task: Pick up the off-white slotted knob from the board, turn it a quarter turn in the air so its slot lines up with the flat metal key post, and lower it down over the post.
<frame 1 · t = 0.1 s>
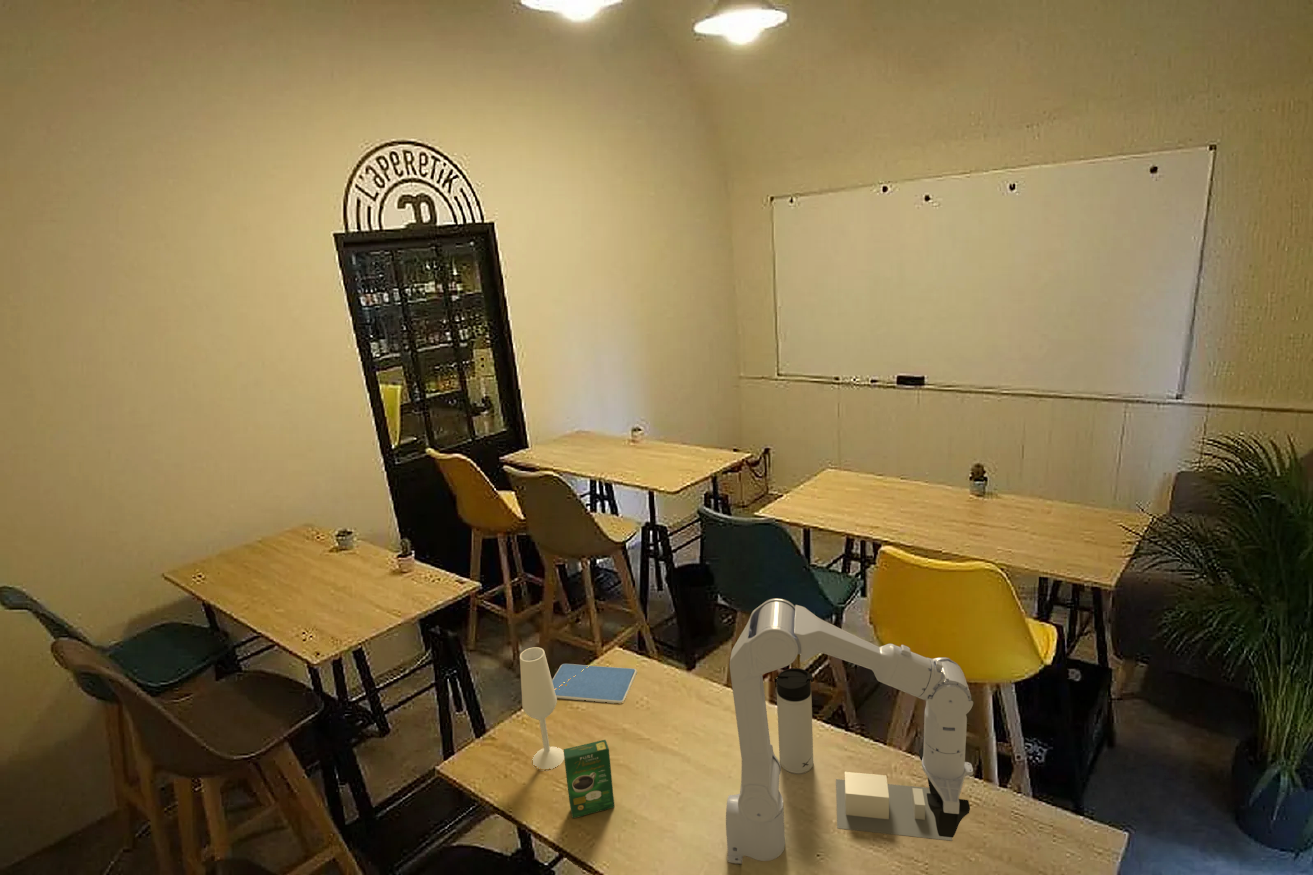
hand: (941, 814, 107), 10 cm above the table, tool pointing down, fingers open, 7 cm apart
knob: (866, 805, 121), point 1 cm above the table, touching board
champagne flute: (548, 759, 140), on the table
travel mug: (797, 767, 132), on the table
board: (890, 812, 120), on the table
coffee box: (593, 809, 127), on the table
tablet computer: (591, 686, 163), on the table
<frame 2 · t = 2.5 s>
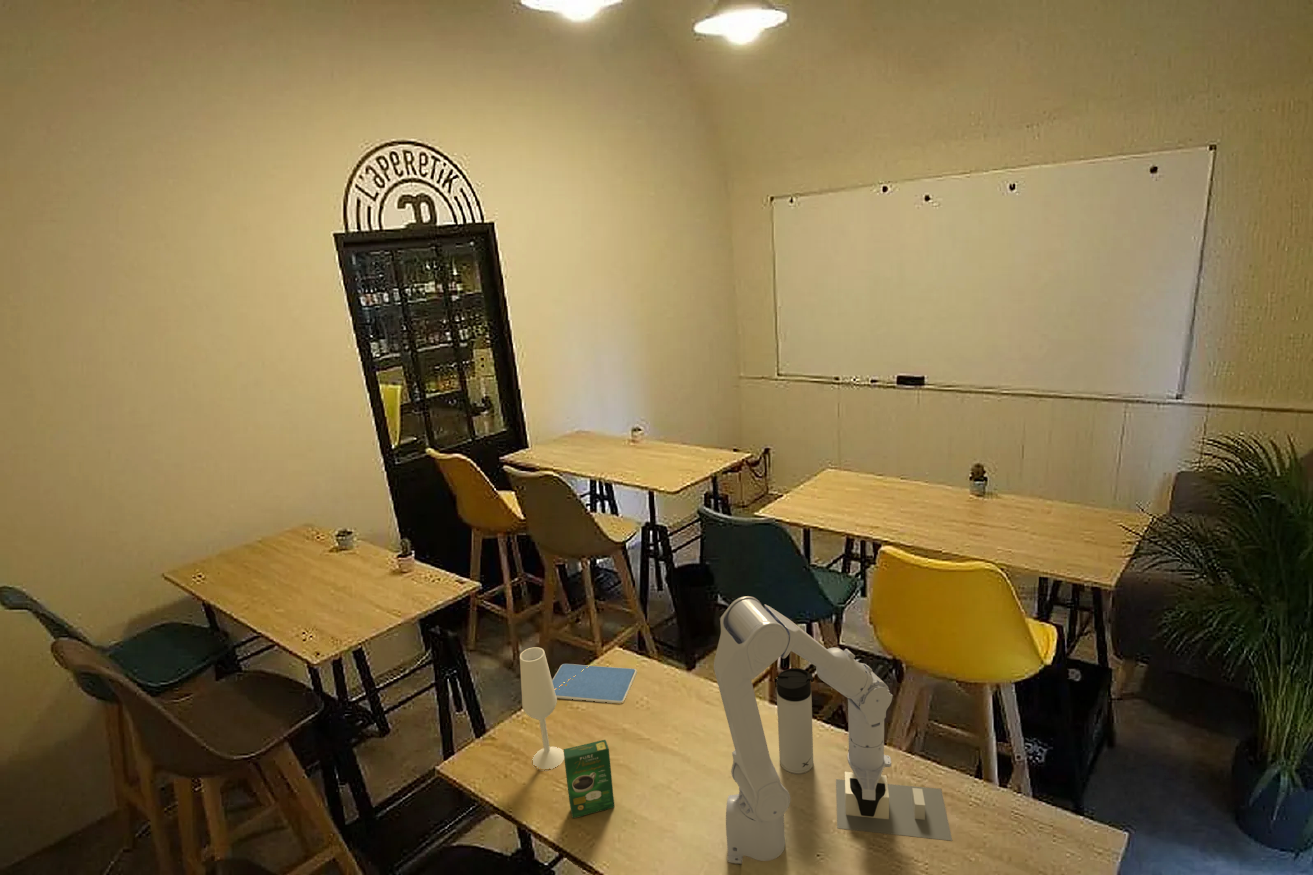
hand: (866, 801, 121), 2 cm above the table, tool pointing down, fingers closed on knob, 5 cm apart
knob: (866, 805, 121), point 1 cm above the table, touching board, gripper
everything else where it was.
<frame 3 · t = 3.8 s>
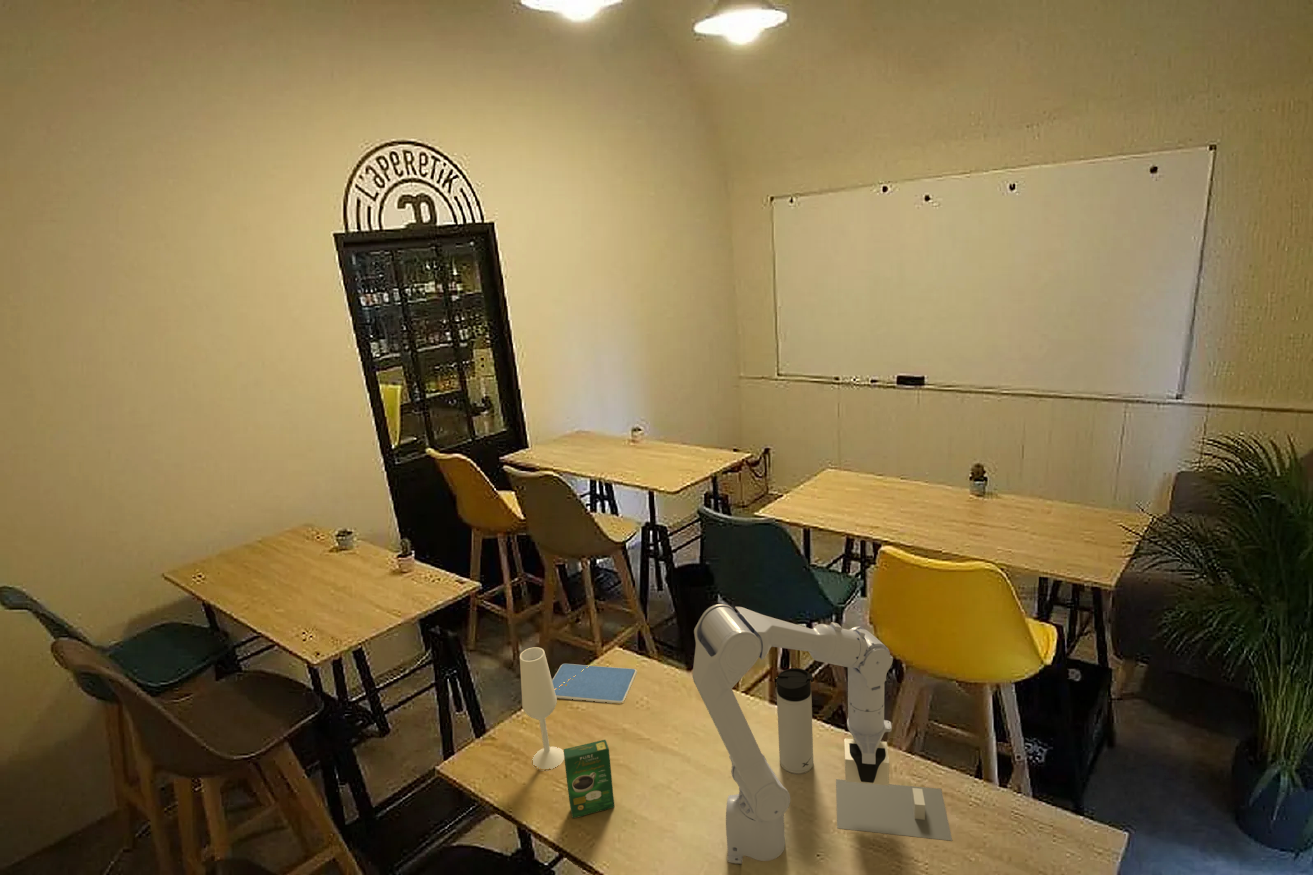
hand: (866, 768, 119), 9 cm above the table, tool pointing down, fingers closed on knob, 5 cm apart
knob: (866, 772, 119), point 8 cm above the table, touching gripper
everything else where it was.
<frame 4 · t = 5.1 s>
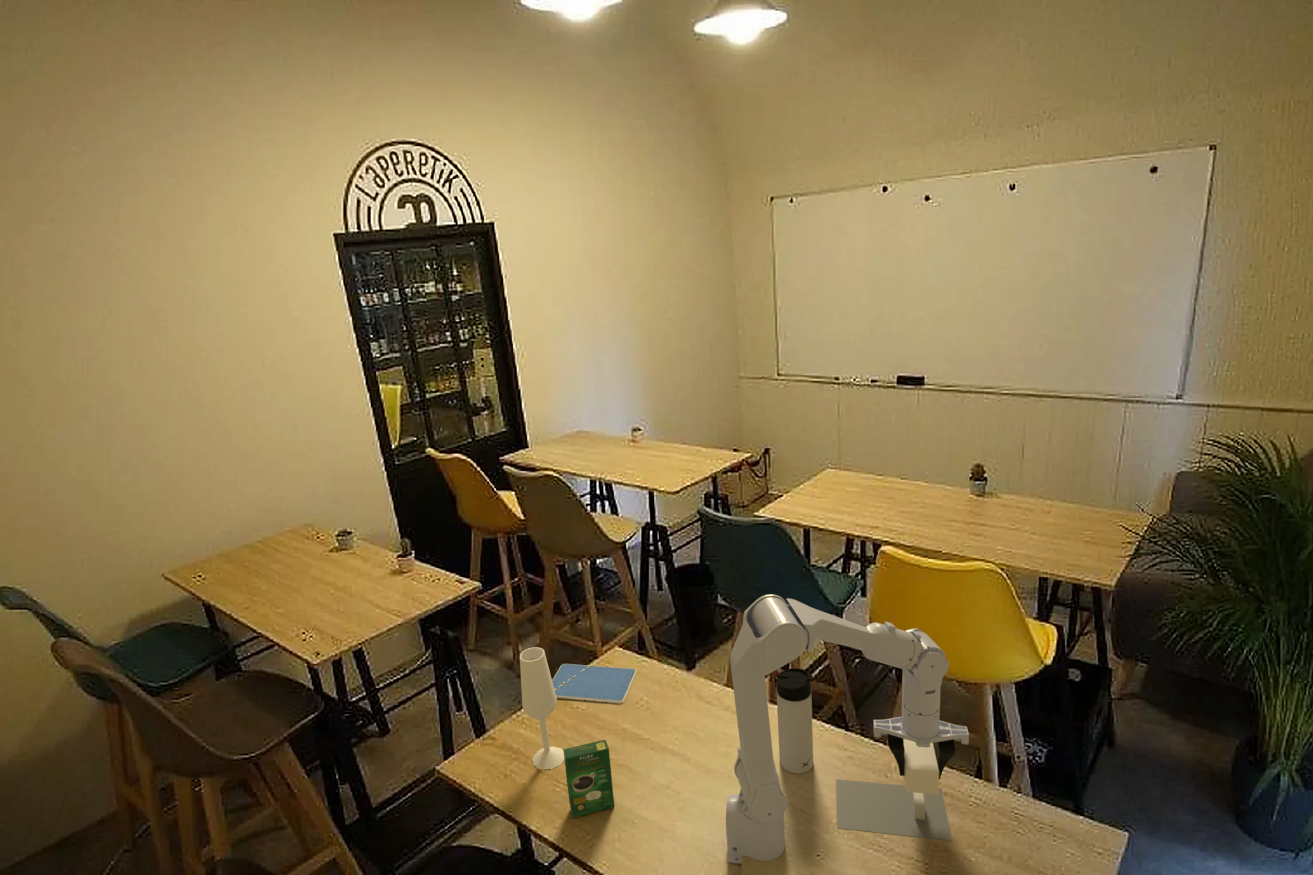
hand: (919, 773, 117), 9 cm above the table, tool pointing down, fingers closed on knob, 5 cm apart
knob: (919, 777, 117), point 8 cm above the table, touching gripper
everything else where it was.
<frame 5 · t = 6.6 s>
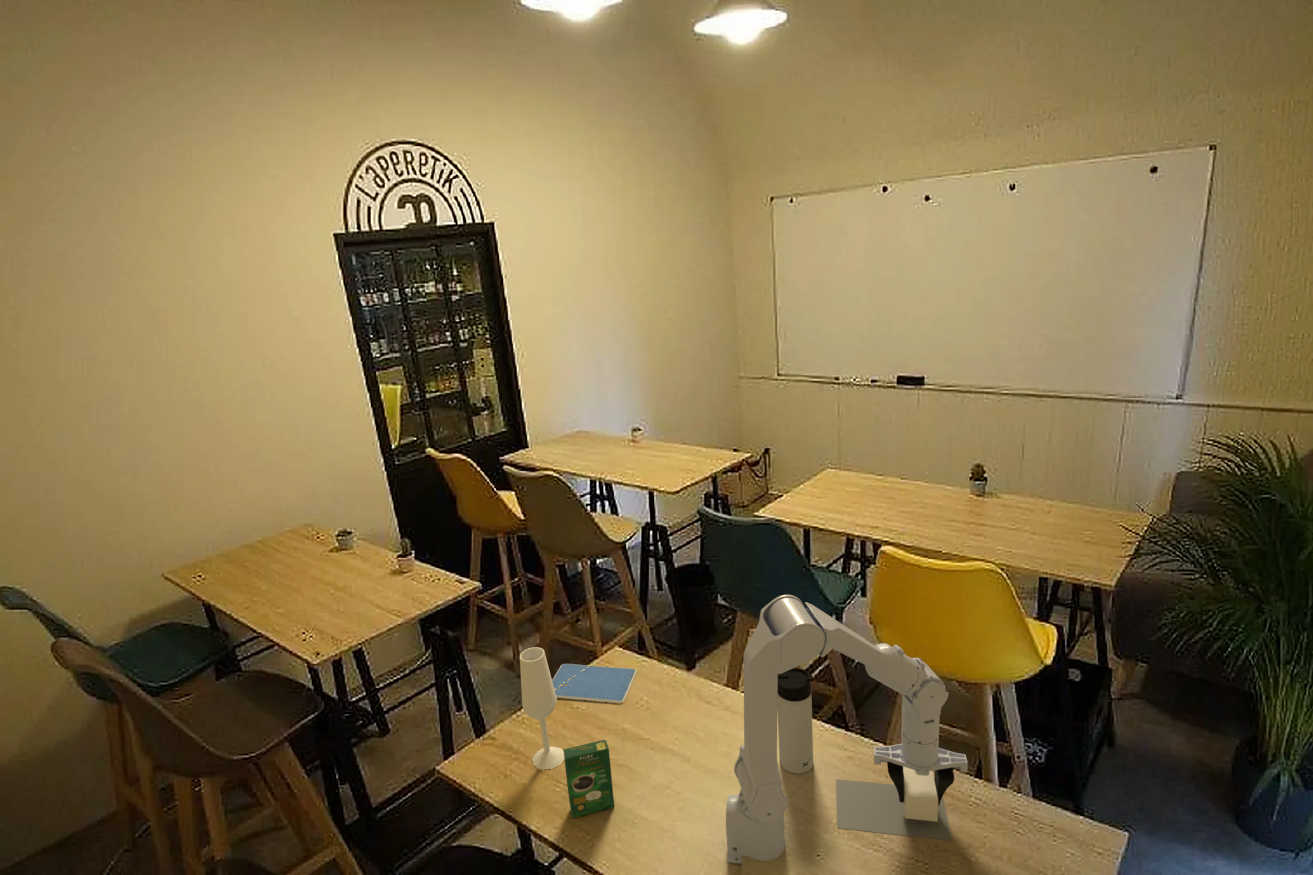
hand: (918, 799, 118), 3 cm above the table, tool pointing down, fingers closed on knob, 5 cm apart
knob: (918, 803, 118), point 3 cm above the table, touching gripper
everything else where it was.
when the fingers open (3 cm above the table, at t = 7.6 s): knob drops 1 cm, resting on board.
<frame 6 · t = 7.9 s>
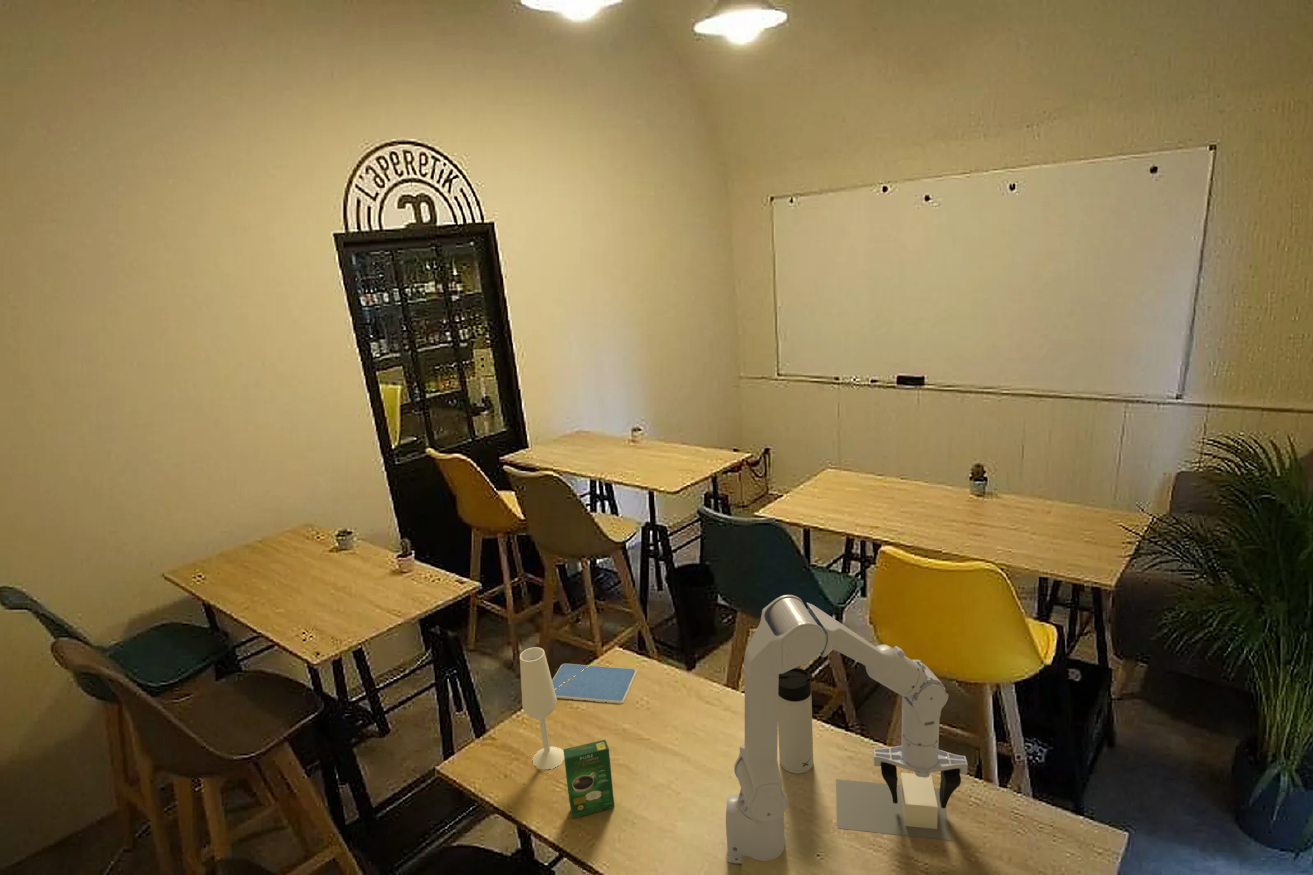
hand: (918, 801, 118), 3 cm above the table, tool pointing down, fingers open, 7 cm apart
knob: (918, 810, 119), point 1 cm above the table, touching board
everything else where it was.
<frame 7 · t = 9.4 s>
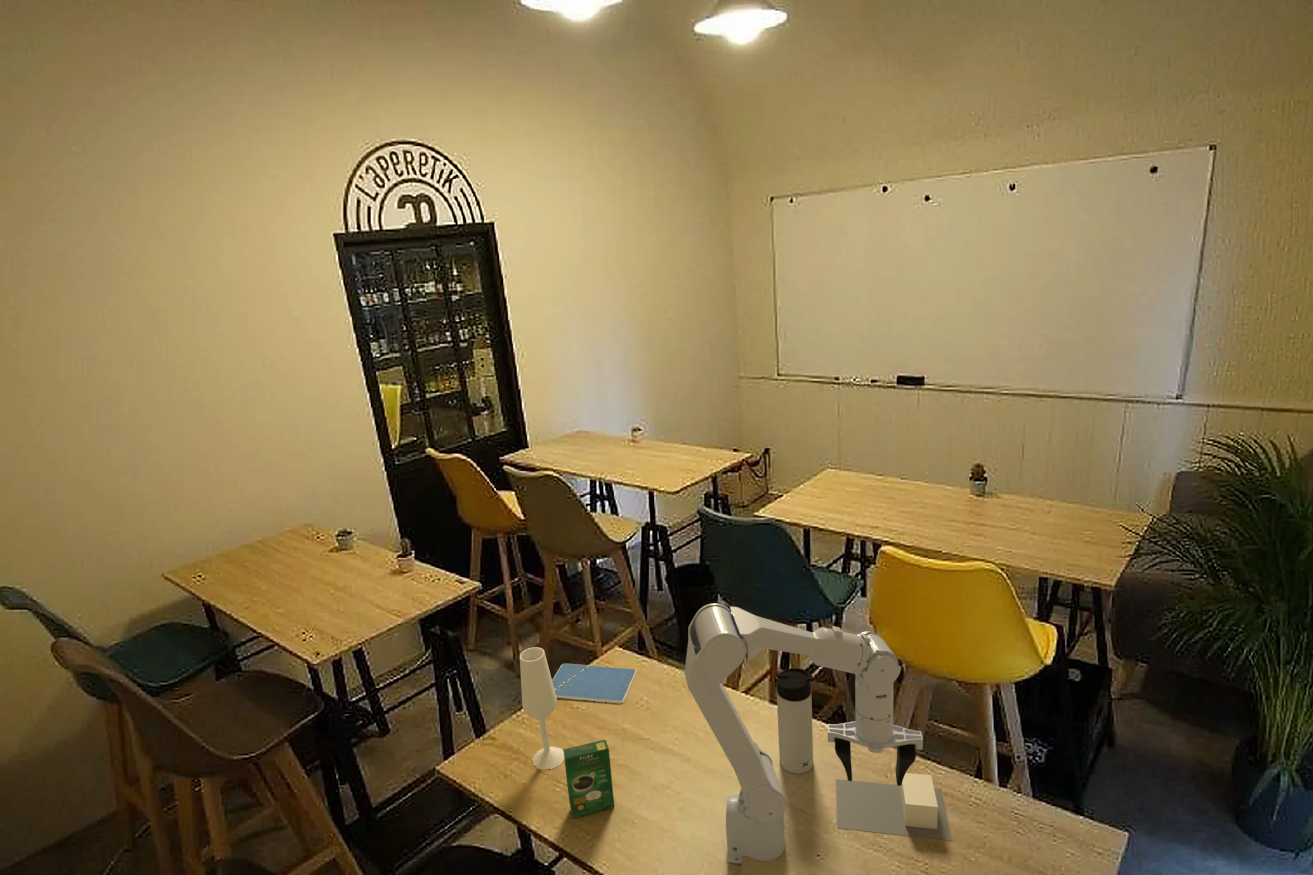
hand: (874, 778, 114), 10 cm above the table, tool pointing down, fingers open, 7 cm apart
nothing on the table moved.
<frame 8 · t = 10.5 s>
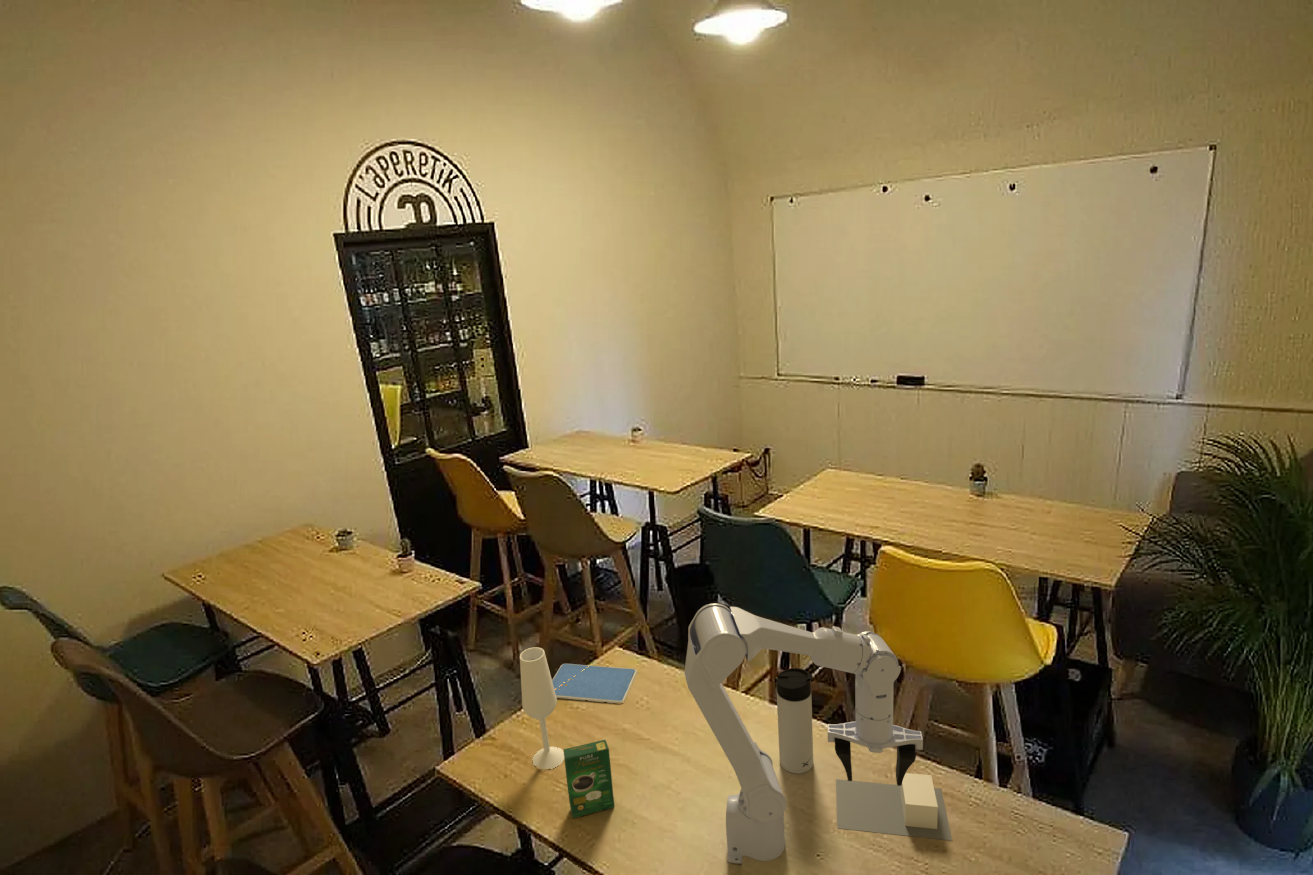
hand: (874, 778, 114), 10 cm above the table, tool pointing down, fingers open, 7 cm apart
nothing on the table moved.
at the end: knob 0.0 cm from the target spot on the board, point 1.0 cm above the board's base; knob tilted 0°; the gripper is holding nothing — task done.
